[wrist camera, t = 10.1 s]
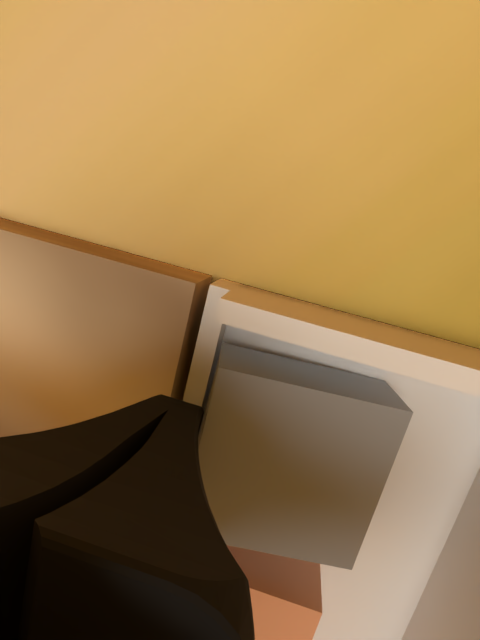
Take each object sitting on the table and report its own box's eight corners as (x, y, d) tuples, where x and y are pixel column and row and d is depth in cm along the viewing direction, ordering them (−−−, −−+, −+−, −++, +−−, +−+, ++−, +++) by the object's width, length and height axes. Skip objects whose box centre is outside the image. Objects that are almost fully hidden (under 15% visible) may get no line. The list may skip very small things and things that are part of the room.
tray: (371, 721, 15) (390, 857, 12) (136, 633, 16) (92, 738, 13) (535, 364, 12) (629, 417, 8) (221, 278, 13) (191, 294, 9)
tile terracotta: (280, 667, 15) (276, 732, 13) (153, 621, 15) (131, 677, 13) (319, 559, 14) (322, 613, 12) (180, 512, 14) (160, 557, 12)
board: (129, 631, 16) (105, 684, 14) (-46, 567, 17) (-91, 609, 15) (212, 275, 13) (195, 283, 11) (-15, 213, 14) (-68, 210, 12)
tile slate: (335, 518, 13) (351, 570, 11) (185, 487, 13) (176, 535, 11) (385, 380, 12) (413, 412, 10) (221, 342, 12) (218, 367, 10)
